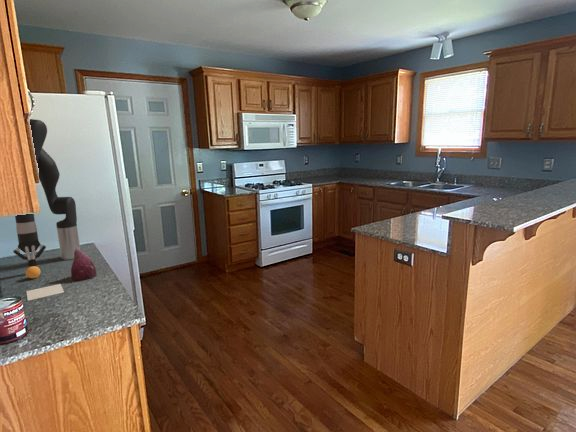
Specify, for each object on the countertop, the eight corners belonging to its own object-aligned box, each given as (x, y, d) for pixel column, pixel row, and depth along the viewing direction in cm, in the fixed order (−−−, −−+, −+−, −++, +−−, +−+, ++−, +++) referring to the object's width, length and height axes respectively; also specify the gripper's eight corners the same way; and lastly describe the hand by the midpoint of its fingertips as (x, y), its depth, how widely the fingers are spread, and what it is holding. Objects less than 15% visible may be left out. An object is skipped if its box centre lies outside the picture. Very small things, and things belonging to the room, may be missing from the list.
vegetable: (69, 285, 158) (55, 255, 155) (90, 275, 167) (77, 246, 164) (81, 283, 152) (67, 252, 150) (102, 273, 161) (89, 243, 159)
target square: (26, 291, 143) (26, 291, 143) (60, 284, 151) (60, 283, 151) (27, 300, 134) (27, 300, 134) (64, 292, 141) (64, 292, 141)
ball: (26, 277, 160) (24, 266, 159) (40, 275, 163) (39, 263, 162) (26, 281, 156) (24, 269, 154) (41, 278, 159) (39, 266, 158)
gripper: (43, 228, 170) (48, 262, 173) (8, 232, 161) (14, 268, 164) (45, 230, 164) (50, 265, 167) (9, 234, 156) (15, 272, 158)
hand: (32, 266), depth 165 cm, fingers closed
